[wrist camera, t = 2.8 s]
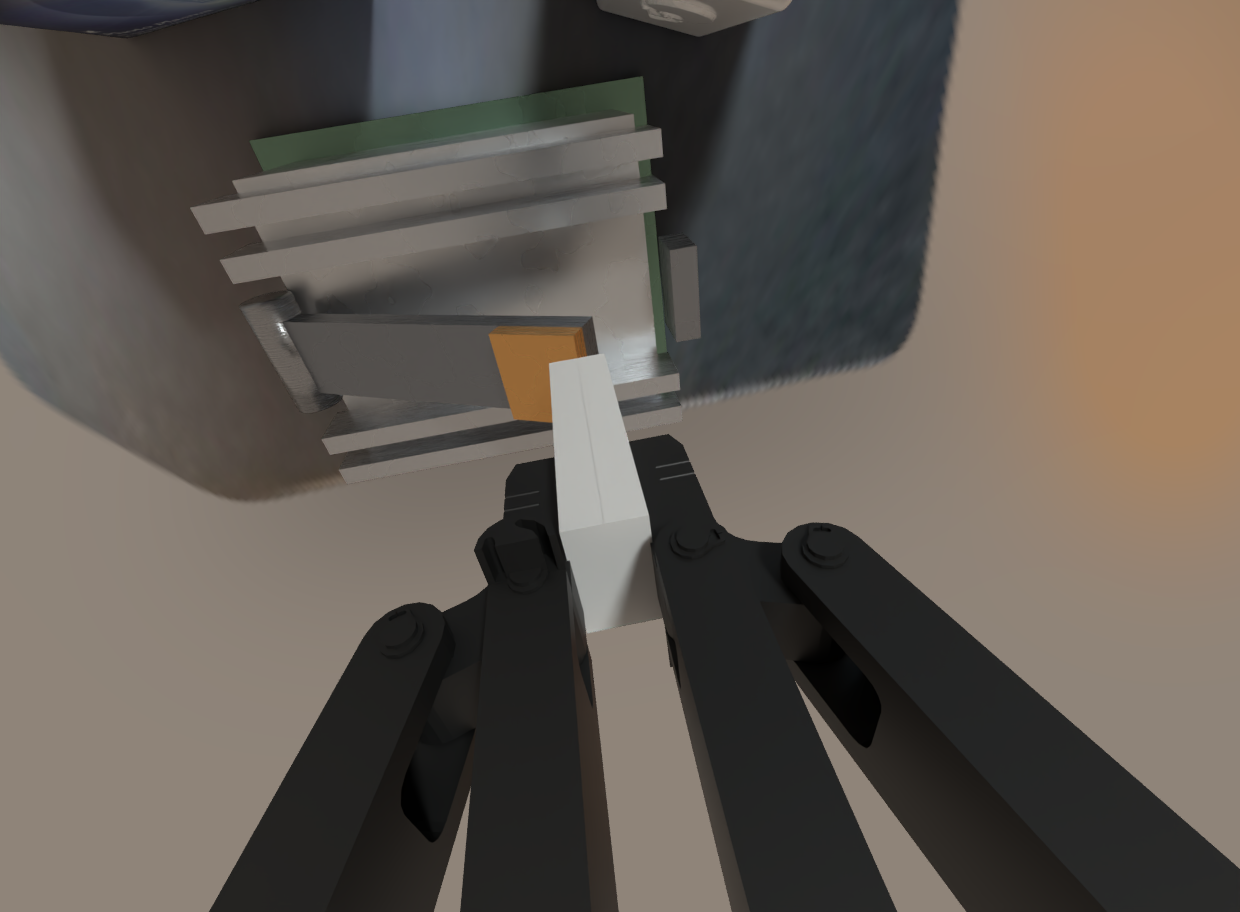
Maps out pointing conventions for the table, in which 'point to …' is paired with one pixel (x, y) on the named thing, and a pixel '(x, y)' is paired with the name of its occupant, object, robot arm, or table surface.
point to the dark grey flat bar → (417, 355)
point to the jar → (694, 12)
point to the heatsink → (476, 250)
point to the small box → (109, 14)
